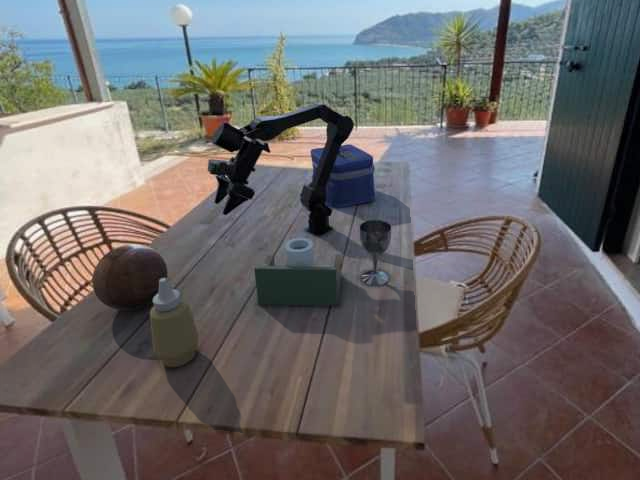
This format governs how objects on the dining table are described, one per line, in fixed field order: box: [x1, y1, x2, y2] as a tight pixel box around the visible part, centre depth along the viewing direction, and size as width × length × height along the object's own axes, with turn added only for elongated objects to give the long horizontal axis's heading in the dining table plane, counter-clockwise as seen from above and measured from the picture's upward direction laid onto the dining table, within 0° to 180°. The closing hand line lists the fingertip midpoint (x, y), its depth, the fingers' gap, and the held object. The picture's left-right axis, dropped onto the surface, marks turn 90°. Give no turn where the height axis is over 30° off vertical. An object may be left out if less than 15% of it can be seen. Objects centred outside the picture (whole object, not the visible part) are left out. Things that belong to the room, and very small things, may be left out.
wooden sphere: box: [91, 243, 168, 311], centre depth 90 cm, size 15×15×15 cm
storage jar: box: [284, 237, 315, 267], centre depth 95 cm, size 7×7×13 cm
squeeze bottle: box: [149, 278, 200, 368], centre depth 74 cm, size 8×8×18 cm
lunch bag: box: [309, 143, 376, 208], centre depth 157 cm, size 31×21×20 cm
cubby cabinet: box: [254, 252, 343, 307], centre depth 96 cm, size 13×19×10 cm
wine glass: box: [359, 219, 392, 287], centre depth 100 cm, size 8×8×15 cm
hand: (220, 208), depth 109 cm, fingers open, 9 cm apart
